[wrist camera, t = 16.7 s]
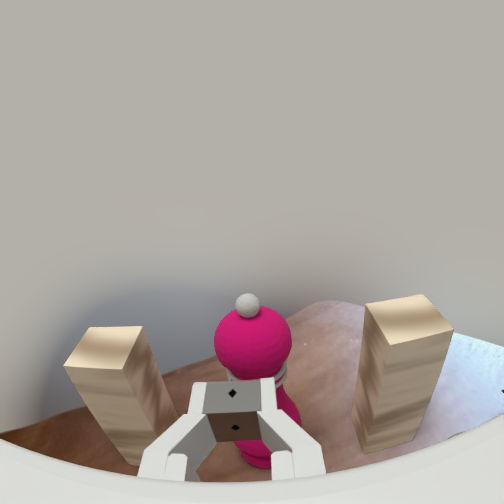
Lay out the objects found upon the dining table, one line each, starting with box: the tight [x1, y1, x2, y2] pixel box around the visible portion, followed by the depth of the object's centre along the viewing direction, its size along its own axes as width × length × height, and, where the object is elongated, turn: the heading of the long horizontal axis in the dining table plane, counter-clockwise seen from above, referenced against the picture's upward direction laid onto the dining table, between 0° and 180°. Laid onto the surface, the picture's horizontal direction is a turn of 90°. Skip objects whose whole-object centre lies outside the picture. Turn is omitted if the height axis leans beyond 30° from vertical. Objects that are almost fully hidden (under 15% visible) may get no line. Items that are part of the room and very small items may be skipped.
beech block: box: [64, 326, 179, 466], centre depth 27 cm, size 6×6×16 cm
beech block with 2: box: [351, 294, 454, 454], centre depth 26 cm, size 6×6×16 cm
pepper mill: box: [214, 294, 301, 469], centre depth 25 cm, size 7×7×20 cm
